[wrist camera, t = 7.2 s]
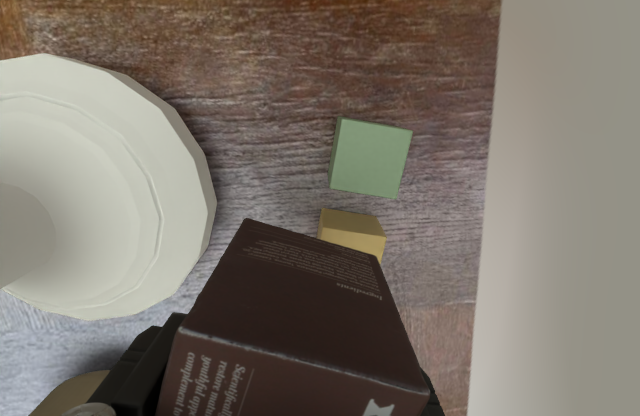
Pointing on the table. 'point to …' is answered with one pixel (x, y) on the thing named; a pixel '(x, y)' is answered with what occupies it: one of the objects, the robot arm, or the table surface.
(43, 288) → the candle holder
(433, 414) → the robot arm
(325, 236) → the block
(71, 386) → the bowl
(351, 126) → the block
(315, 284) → the box
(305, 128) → the table surface
